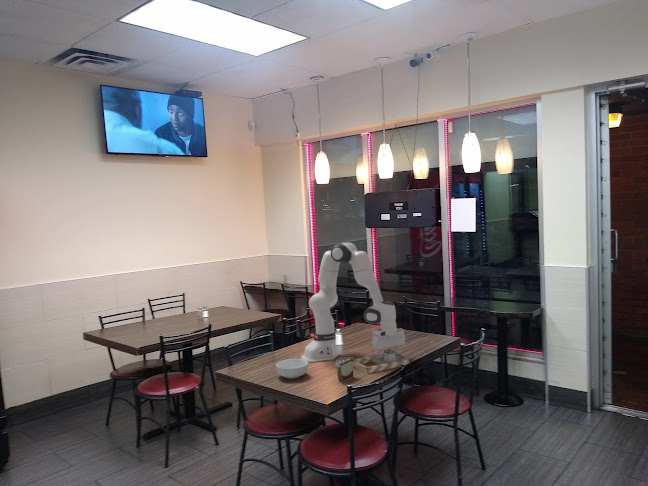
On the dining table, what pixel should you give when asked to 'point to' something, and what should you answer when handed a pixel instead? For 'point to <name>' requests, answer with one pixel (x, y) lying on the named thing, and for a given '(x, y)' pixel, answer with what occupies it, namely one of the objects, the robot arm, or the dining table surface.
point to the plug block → (389, 355)
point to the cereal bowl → (292, 368)
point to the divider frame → (379, 363)
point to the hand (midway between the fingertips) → (389, 354)
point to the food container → (345, 368)
